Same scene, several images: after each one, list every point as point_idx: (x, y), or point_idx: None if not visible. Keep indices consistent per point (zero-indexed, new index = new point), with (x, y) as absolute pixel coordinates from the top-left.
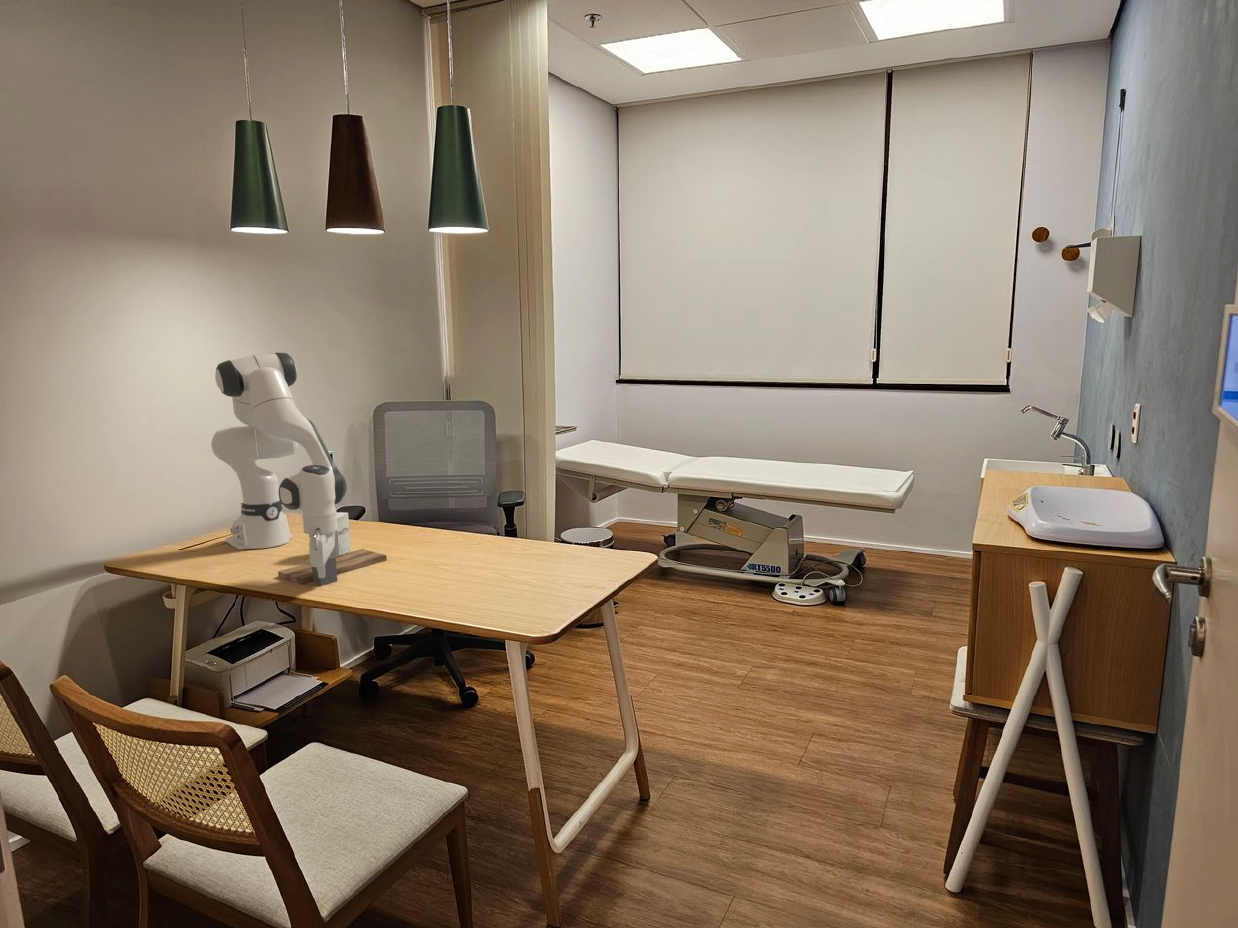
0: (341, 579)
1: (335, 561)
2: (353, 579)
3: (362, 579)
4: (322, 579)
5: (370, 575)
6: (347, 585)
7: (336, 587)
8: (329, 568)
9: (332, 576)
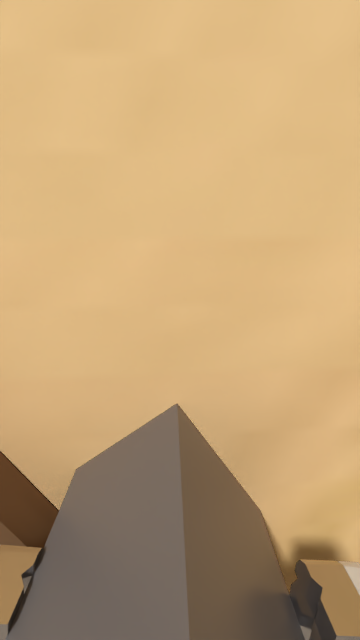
0: (133, 372)
1: (190, 623)
2: (172, 265)
3: (205, 172)
4: (266, 547)
5: (82, 75)
6: (340, 316)
7: (353, 402)
8: (244, 592)
9: (207, 474)
